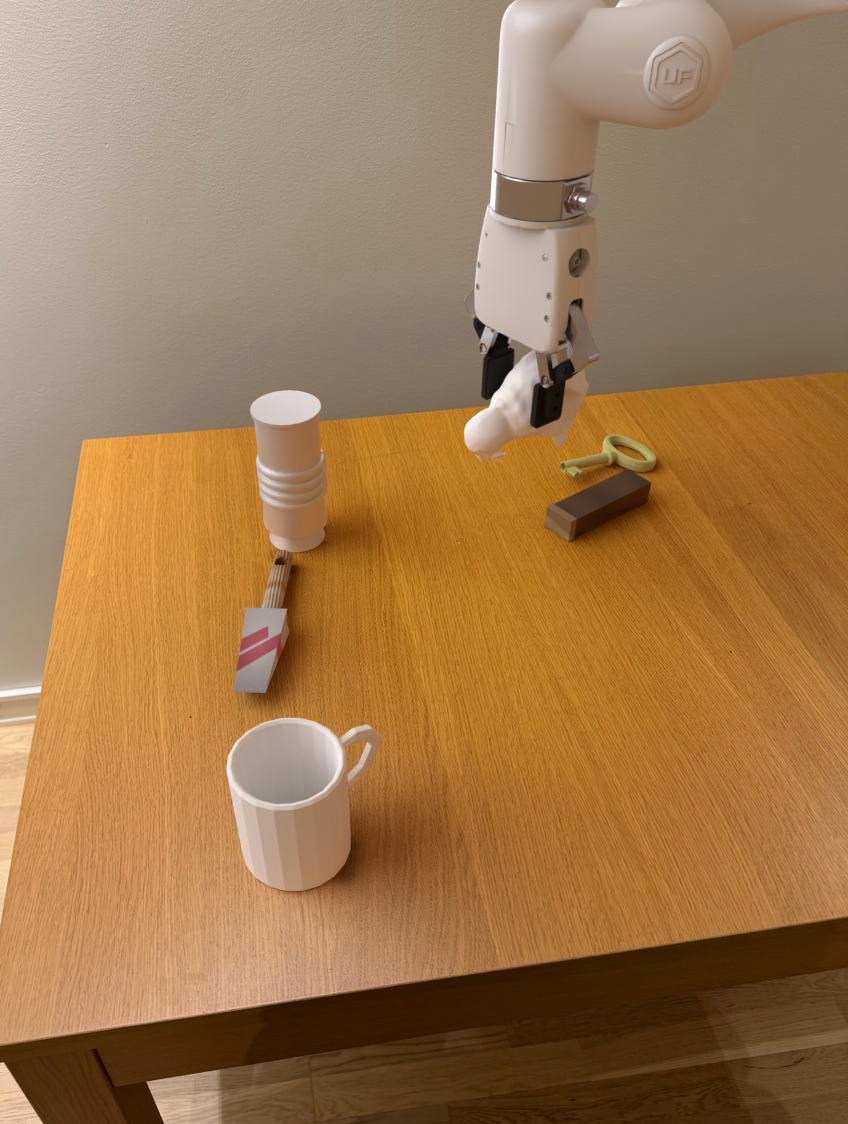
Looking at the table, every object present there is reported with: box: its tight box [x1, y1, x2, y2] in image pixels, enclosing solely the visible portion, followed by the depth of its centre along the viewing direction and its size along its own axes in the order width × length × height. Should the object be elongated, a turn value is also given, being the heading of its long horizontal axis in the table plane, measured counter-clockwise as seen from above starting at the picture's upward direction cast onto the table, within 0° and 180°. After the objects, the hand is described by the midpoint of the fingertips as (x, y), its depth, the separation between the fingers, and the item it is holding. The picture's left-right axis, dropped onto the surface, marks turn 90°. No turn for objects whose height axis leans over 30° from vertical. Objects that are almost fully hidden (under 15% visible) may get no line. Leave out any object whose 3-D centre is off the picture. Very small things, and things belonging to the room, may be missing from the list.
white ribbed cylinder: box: [249, 389, 329, 553], centre depth 92 cm, size 7×7×15 cm
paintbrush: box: [232, 549, 294, 694], centre depth 86 cm, size 4×3×20 cm
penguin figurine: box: [463, 349, 590, 463], centre depth 82 cm, size 6×8×12 cm
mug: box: [225, 717, 384, 892], centre depth 66 cm, size 8×12×10 cm
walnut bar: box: [544, 468, 652, 543], centre depth 98 cm, size 12×4×3 cm, turn 126°
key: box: [559, 433, 657, 478], centre depth 105 cm, size 7×12×2 cm, turn 136°
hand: (520, 406), depth 82 cm, fingers closed on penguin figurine, 5 cm apart
